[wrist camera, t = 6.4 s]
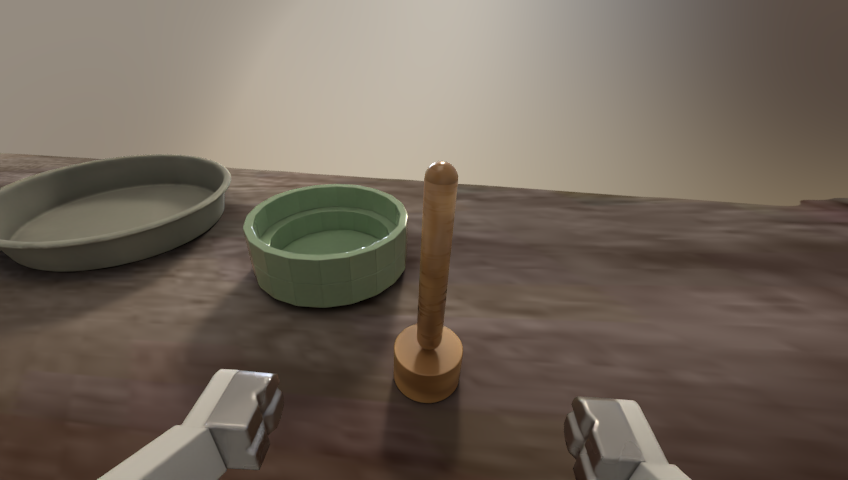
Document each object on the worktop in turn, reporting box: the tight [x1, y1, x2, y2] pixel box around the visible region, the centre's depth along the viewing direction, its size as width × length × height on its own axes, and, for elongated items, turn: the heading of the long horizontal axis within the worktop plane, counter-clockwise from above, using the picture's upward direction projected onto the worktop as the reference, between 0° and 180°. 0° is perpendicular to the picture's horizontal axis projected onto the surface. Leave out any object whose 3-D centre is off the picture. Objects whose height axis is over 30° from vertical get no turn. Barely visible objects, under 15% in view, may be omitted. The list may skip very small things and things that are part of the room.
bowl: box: [243, 184, 408, 308], centre depth 38 cm, size 16×16×6 cm
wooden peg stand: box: [394, 161, 463, 403], centre depth 24 cm, size 5×5×17 cm
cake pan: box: [0, 154, 231, 272], centre depth 44 cm, size 25×25×4 cm
